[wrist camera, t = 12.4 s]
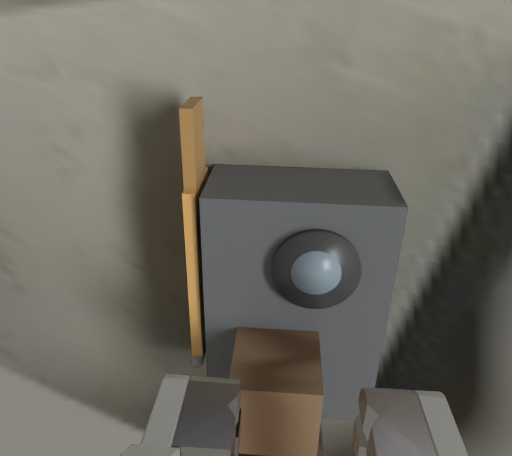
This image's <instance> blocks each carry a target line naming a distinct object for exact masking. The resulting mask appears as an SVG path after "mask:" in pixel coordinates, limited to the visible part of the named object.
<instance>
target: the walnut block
mask: <svg viewBox="0 0 512 456" xmlns="http://www.w3.org/2000/svg"><path fill="white" fill-rule="evenodd" d="M229 379H237V380H241V390H242V394H241V403H240V409H241V434H240V446H239V454H252V455H266V456H317V449H318V440H319V432H320V423H321V415H322V406H323V398H324V392H323V379H322V366H321V353H320V341H319V332H315V331H299V330H282V329H265V328H248V327H237V333H236V339H235V345H234V351H233V357H232V363H231V369H230V375H229Z"/></svg>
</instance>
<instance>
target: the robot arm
mask: <svg viewBox="0 0 512 456" xmlns="http://www.w3.org/2000/svg"><path fill="white" fill-rule="evenodd" d="M241 394H242V390H241V380H237V379H226V378H215V377H204V376H194V375H192V376H188V375H177V374H166V375H165V377H164V378H163V379H162V382H161V385H160V388H159V391H158V394H157V397H156V400H155V403H154V406H153V409H152V412H151V415H150V417H149V420H148V423H147V426H146V429H145V432H144V435H143V438H142V441H141V444H140V445H133V444H132V445H131V446H130V447H129V448H128V449H127V450H125V451H124V452H123V453H122V454H121V455H120V456H239V446H240V434H241V409H240V403H241ZM358 404H359V410H360V414H359V415H358V416H357V417H356V418H355V424H354V437H353V448H354V456H468V454H467V452H466V449H465V446H464V444H463V441H462V439H461V436H460V433H459V431H458V428H457V426H456V423H455V421H454V418H453V415H452V413H451V410H450V408H449V405H448V403H447V400H446V397H445V396H444V395H443V394H442V393H441V392H434V391H416V390H415V391H412V390H400V389H382V388H364V387H362V388H361V391H360V394H359V400H358Z"/></svg>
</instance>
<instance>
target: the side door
mask: <svg viewBox="0 0 512 456" xmlns="http://www.w3.org/2000/svg"><path fill="white" fill-rule="evenodd" d="M179 119H180V135H181V152H182V168H183V185H184V191H183V193H182V204H183V220H184V235H185V251H186V267H187V283H188V299H189V315H190V331H191V347H192V360H191V364H192V365H193V366H195V367H200V366H202V365H203V361H204V357H205V353H206V340H205V317H204V294H203V272H202V249H201V226H200V204H199V198H200V195H201V193H202V191H203V189H204V187H205V185H206V182H207V180H208V167H205V146H204V118H203V97H190V98H189V99H188V100H187V101H186V102H185V103H184V104H183V105H182V106H181V107H180V108H179Z"/></svg>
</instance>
